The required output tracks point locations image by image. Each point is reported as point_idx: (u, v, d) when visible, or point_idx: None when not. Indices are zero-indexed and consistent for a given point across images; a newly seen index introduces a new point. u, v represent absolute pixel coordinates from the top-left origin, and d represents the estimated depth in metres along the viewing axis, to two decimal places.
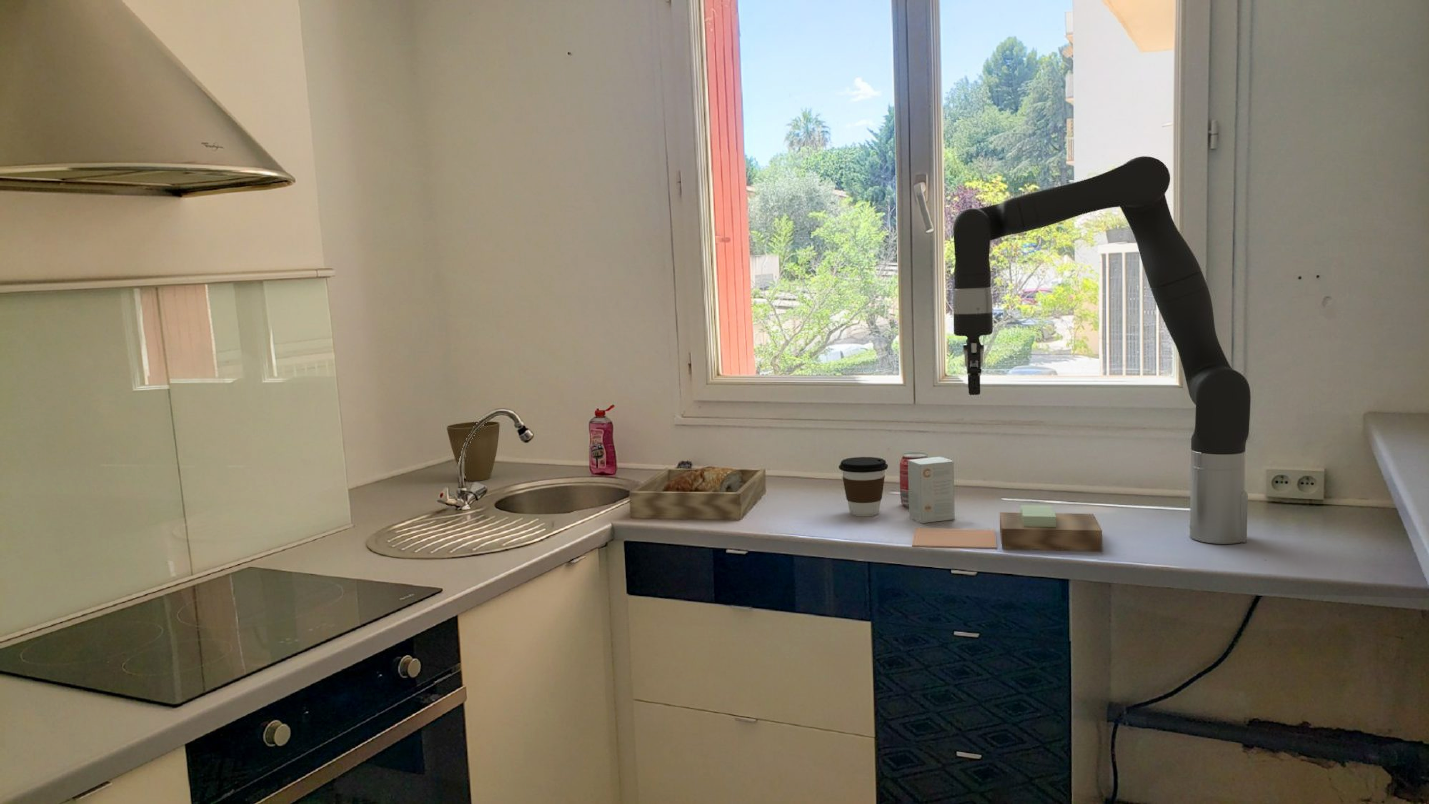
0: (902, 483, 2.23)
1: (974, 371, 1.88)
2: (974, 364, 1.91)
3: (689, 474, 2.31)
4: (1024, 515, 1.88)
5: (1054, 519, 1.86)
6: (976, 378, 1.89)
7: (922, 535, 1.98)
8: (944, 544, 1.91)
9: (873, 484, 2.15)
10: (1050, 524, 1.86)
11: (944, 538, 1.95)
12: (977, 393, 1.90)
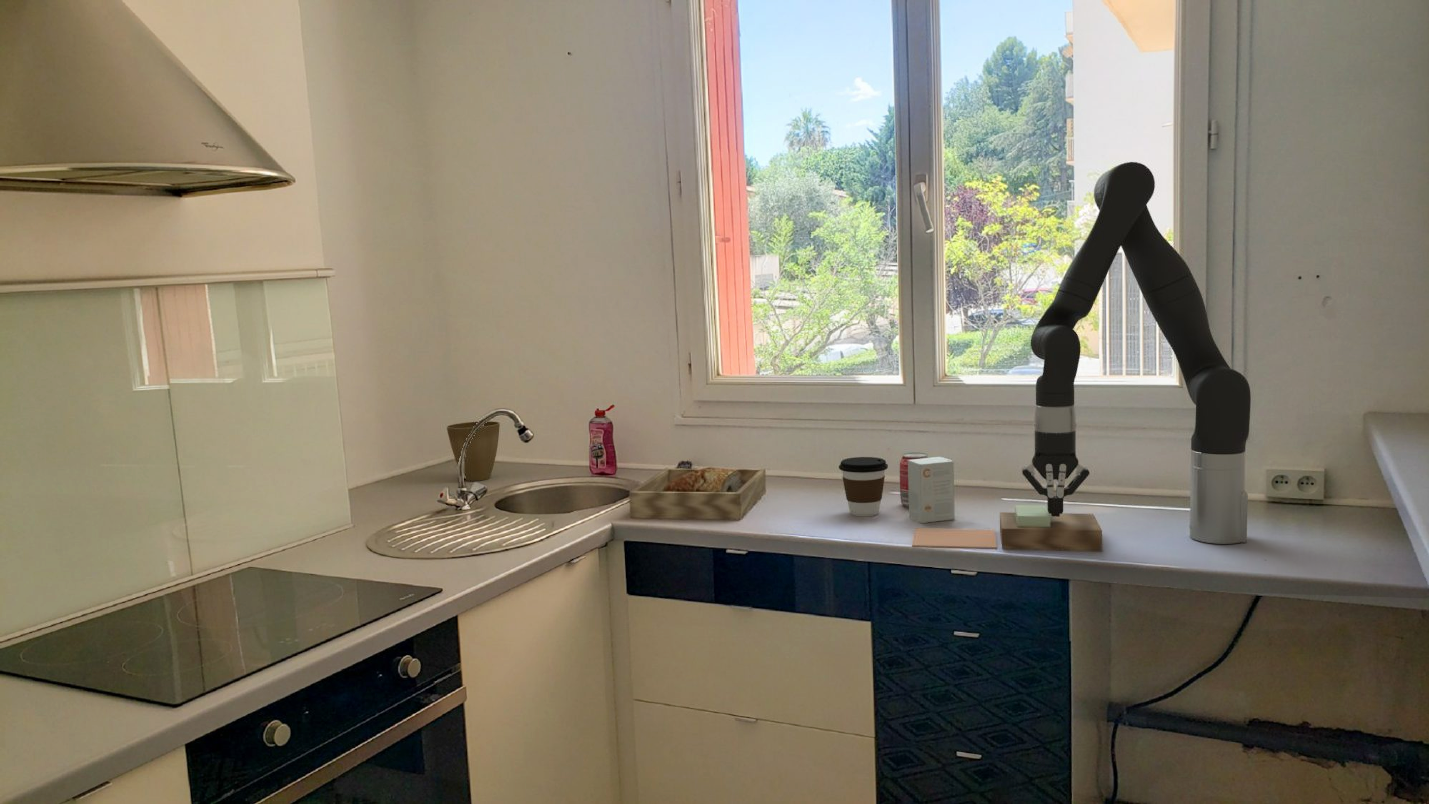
0: (902, 483, 2.23)
1: None
2: None
3: (689, 475, 2.30)
4: (1018, 515, 1.88)
5: (1048, 519, 1.86)
6: None
7: (922, 535, 1.98)
8: (944, 544, 1.91)
9: (873, 484, 2.15)
10: (1044, 524, 1.86)
11: (944, 538, 1.95)
12: None
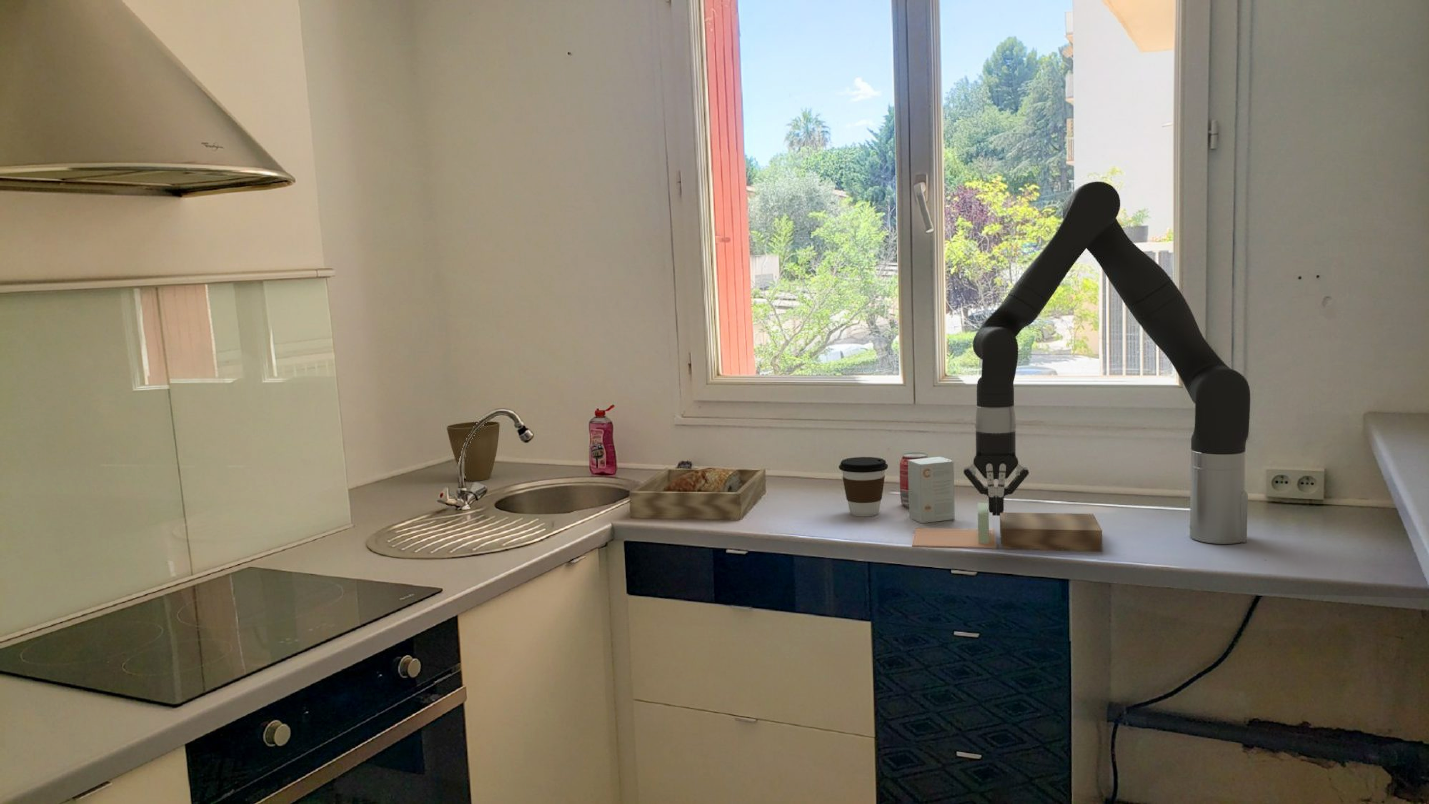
0: (902, 483, 2.23)
1: None
2: None
3: (690, 476, 2.29)
4: (978, 541, 1.91)
5: (980, 515, 1.89)
6: None
7: (922, 535, 1.98)
8: (944, 544, 1.91)
9: (873, 484, 2.15)
10: (986, 518, 1.89)
11: (944, 538, 1.95)
12: None
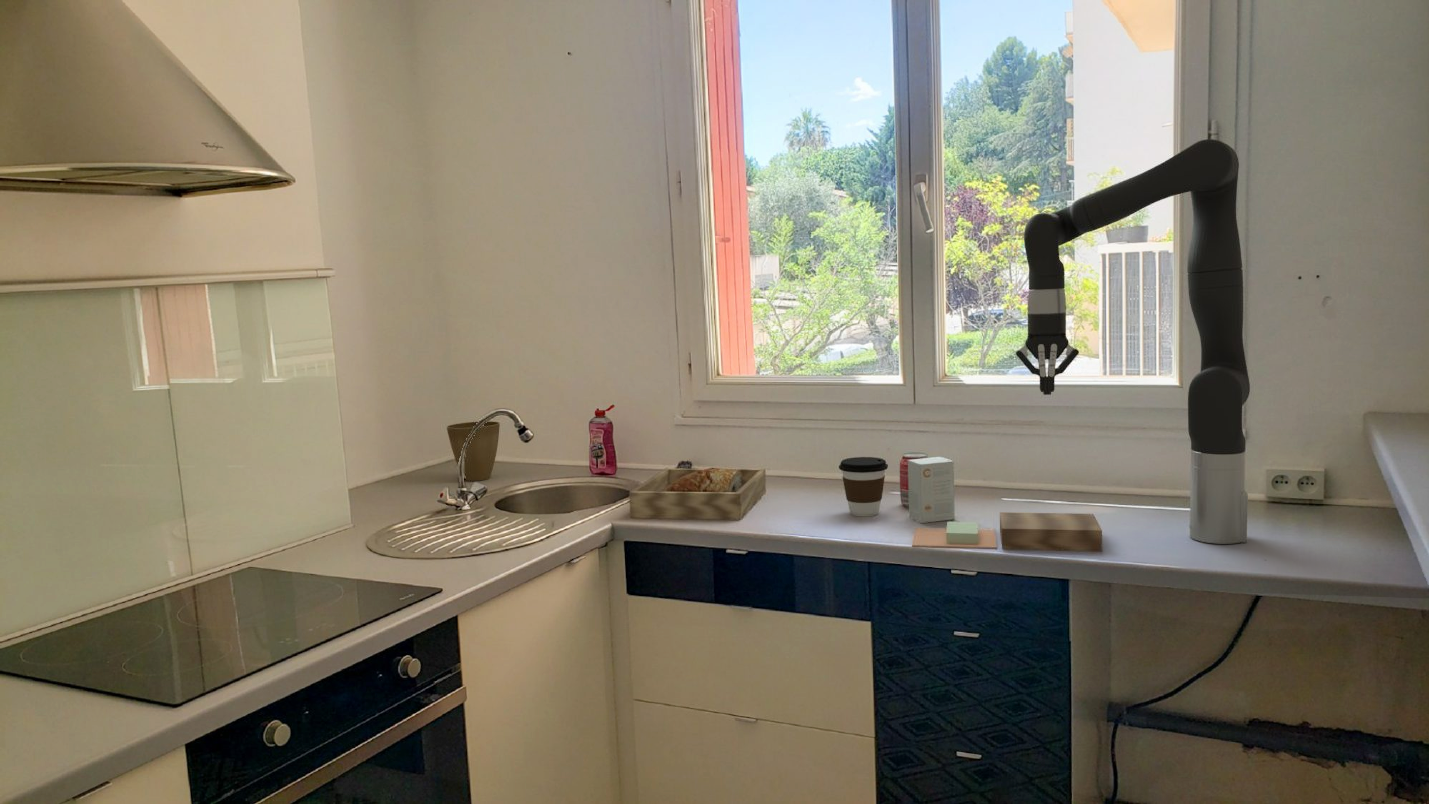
0: (902, 483, 2.23)
1: None
2: None
3: (693, 476, 2.29)
4: None
5: (947, 540, 1.92)
6: None
7: (922, 535, 1.98)
8: (944, 544, 1.91)
9: (873, 484, 2.15)
10: (951, 535, 1.91)
11: (944, 538, 1.95)
12: None
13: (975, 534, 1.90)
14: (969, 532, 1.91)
